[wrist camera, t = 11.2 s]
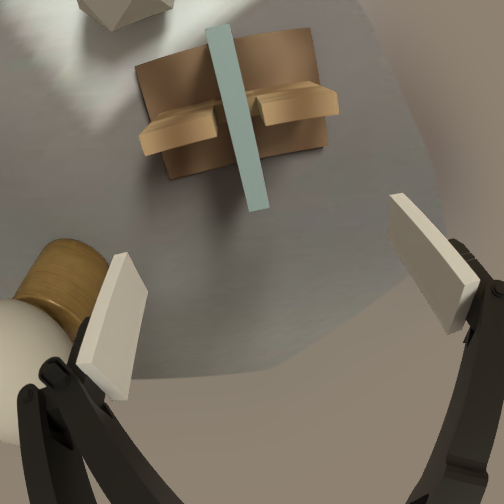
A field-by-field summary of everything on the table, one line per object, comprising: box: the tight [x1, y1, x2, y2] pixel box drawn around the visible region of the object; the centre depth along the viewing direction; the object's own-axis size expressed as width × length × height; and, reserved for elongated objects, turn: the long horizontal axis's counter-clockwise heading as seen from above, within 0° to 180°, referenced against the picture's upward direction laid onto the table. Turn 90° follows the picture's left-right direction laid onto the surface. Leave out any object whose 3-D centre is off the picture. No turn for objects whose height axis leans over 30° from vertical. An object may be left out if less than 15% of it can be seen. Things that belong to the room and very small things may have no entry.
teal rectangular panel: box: [205, 24, 270, 212], centre depth 24 cm, size 2×14×8 cm, turn 12°
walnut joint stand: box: [135, 28, 339, 180], centre depth 24 cm, size 16×12×9 cm
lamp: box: [0, 239, 109, 446], centre depth 27 cm, size 15×14×25 cm
